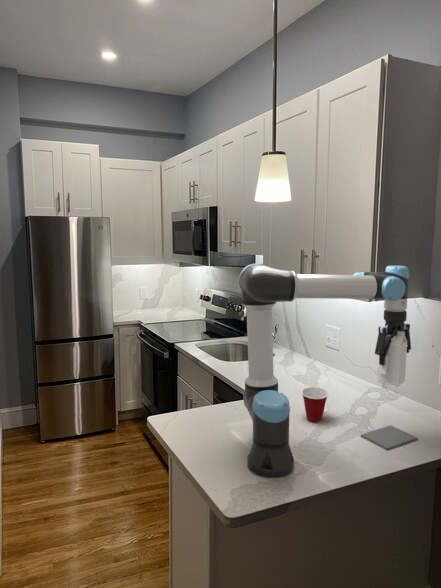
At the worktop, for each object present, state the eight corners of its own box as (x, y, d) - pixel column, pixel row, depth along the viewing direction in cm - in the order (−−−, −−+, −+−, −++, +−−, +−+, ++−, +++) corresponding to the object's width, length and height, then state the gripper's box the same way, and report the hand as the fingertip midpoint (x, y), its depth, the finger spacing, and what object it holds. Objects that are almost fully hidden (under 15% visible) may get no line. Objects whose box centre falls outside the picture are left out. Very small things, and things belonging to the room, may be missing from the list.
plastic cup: (299, 424, 176) (300, 395, 175) (301, 413, 187) (301, 385, 185) (328, 426, 174) (329, 397, 172) (327, 415, 184) (328, 387, 183)
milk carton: (385, 377, 166) (387, 327, 163) (405, 381, 162) (407, 330, 159) (378, 382, 161) (380, 330, 158) (398, 386, 156) (401, 333, 154)
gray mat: (387, 450, 155) (387, 448, 155) (360, 436, 165) (360, 434, 165) (417, 439, 163) (417, 437, 163) (390, 427, 173) (390, 425, 173)
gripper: (382, 314, 149) (379, 379, 152) (424, 308, 159) (420, 369, 163) (365, 310, 155) (362, 373, 159) (406, 305, 166) (403, 364, 169)
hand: (392, 371), depth 161 cm, fingers closed on milk carton, 9 cm apart
